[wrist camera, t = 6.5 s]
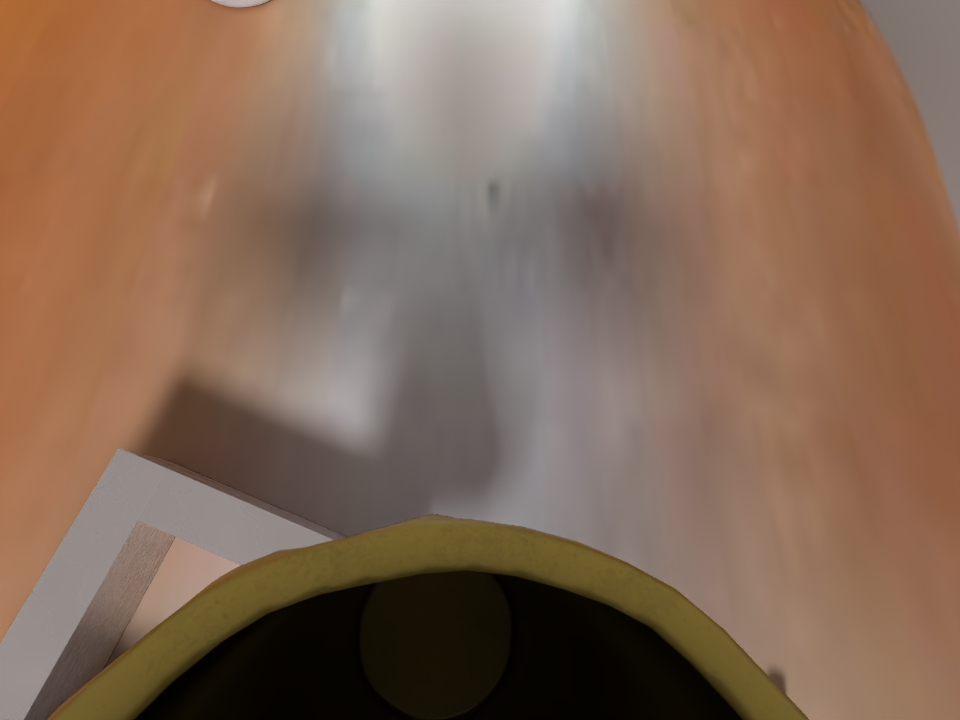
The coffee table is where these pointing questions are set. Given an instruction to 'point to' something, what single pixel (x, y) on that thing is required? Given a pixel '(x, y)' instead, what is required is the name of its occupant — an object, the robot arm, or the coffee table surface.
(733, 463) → the coffee table surface
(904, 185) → the coffee table surface
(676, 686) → the vase
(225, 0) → the supplement bottle
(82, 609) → the socket block
